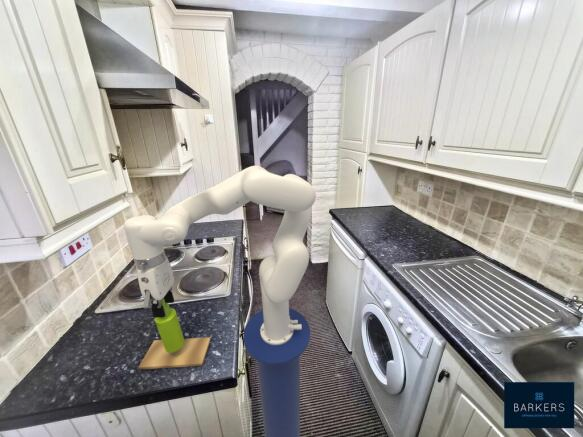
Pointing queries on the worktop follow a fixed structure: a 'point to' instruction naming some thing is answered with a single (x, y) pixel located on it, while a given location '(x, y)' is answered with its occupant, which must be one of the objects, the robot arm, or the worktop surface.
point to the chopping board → (176, 354)
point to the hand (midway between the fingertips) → (164, 308)
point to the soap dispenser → (170, 329)
